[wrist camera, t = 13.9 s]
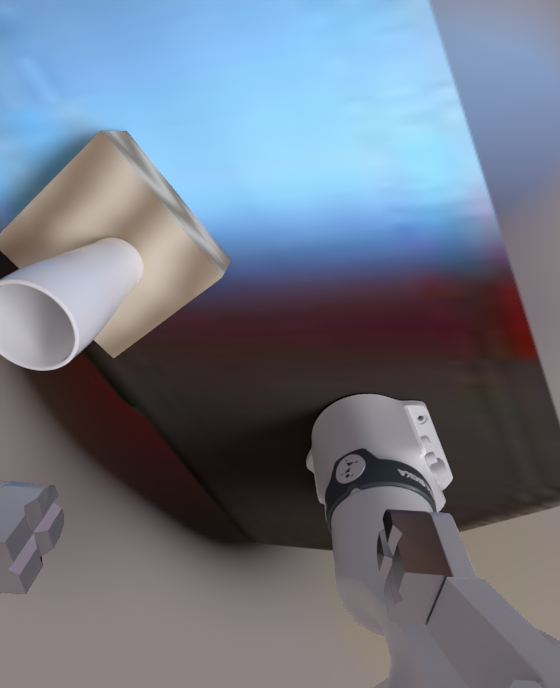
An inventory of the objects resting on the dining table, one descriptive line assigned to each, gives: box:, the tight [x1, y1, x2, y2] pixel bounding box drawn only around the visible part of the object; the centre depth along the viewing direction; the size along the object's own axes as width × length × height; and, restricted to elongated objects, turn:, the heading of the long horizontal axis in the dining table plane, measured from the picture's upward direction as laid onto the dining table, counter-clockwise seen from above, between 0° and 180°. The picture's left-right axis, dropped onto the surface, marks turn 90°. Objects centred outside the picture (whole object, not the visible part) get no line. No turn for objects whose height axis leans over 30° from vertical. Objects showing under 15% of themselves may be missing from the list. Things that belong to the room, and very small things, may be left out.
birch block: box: [0, 131, 231, 358], centre depth 42 cm, size 16×16×6 cm
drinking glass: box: [0, 237, 144, 370], centre depth 33 cm, size 7×7×15 cm
